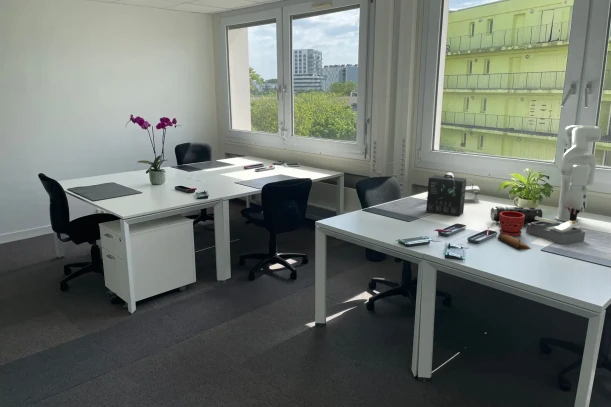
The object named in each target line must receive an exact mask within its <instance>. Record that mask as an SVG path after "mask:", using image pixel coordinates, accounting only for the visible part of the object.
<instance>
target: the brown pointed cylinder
mask: <svg viewBox="0 0 611 407" xmlns="http://www.w3.org/2000/svg"><path fill="white" fill-rule="evenodd" d="M497 236H498V237H497V239H498V240H499V241H501V242H504V243H506V244H508V245H510V246H512V247H514V248H516V249H517V250H518V251H523V250H524V251H525V250H531V249H532V248H531V247H530V246H529V245H528V244H526V243H524V242H523V241H522V240H521V239H518V238H516V237H515V236H509V235H506V234H502V233H499V235H497Z"/></svg>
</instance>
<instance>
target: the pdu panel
mask: <svg viewBox="0 0 611 407" xmlns="http://www.w3.org/2000/svg"><path fill="white" fill-rule="evenodd" d="M556 222H557V223H556V224H552V223H547V222H543V221H539V222H532V223H526V228H525V229H526V230H525V232H526V233H527V234H530V235H533V236H536V237H539V238H542V239H544V240H548V241H551V242H554V243H557V244H560V245H562V246H563V245H569V243H570V244H574V243H580V242H584V241H585V236H586V231H582V229H581V228H577V227H576V226H575V227H573V228H571V229H569V230H567V231H565V232H560V231H557V230H554V228H555V227H557V226H559V225H561V224H562V223H561V222H558V221H556Z"/></svg>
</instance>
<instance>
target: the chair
mask: <svg viewBox="0 0 611 407" xmlns="http://www.w3.org/2000/svg"><path fill="white" fill-rule="evenodd" d="M446 175H452V177H455V175H454V174H453V172H447V173H446ZM465 179H466V181H471V182H468V184H471V185H466V190H465V191H469V190H470V191H471V193H472V194H473V196H474V198H476V200H475V202H476V203H478V202H479V199H478V196H479V195H480V194H481V189H480V187H479V186H478V185H474V184H473V180H472V179H469V178H468V179H467V178H465ZM475 190H476V191H475ZM465 201H466V202H465V203H470V201H467V200H465Z"/></svg>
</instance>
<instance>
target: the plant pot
mask: <svg viewBox="0 0 611 407" xmlns="http://www.w3.org/2000/svg"><path fill="white" fill-rule="evenodd" d="M507 216H509V217H507ZM514 216H515V217H514ZM524 220H525V215H524V214H522V213H519V212H514V211H504V212H501V213H500V216H499V222H498V223H499V227H500V228H499V232H500V234H506V235H509V236H512V237H518V236H521V235H522V231H523V230H522V229H523V227H524V225H525V223H524Z"/></svg>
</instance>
